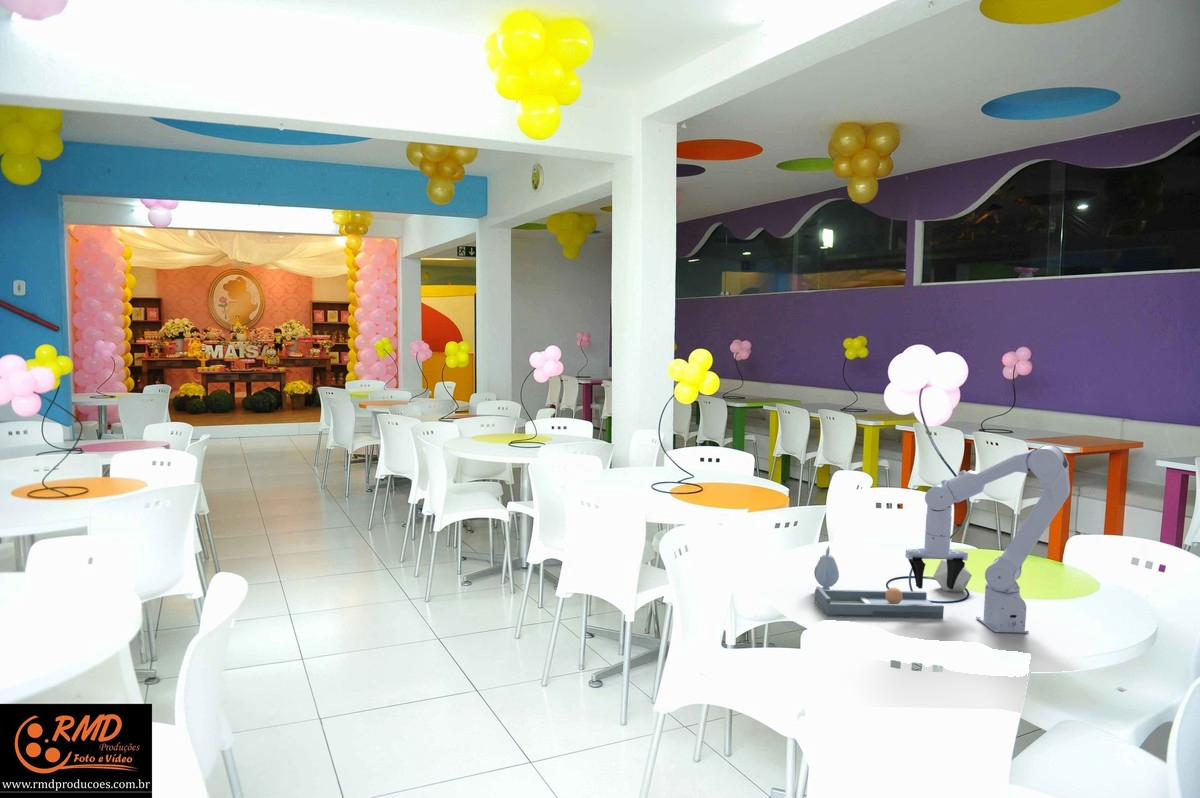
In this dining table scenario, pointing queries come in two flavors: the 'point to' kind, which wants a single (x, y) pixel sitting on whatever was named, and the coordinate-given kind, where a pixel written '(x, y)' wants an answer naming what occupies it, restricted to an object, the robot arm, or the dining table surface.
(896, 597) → the ball
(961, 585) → the die
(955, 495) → the robot arm
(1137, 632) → the dining table surface
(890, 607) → the lane
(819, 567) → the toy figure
